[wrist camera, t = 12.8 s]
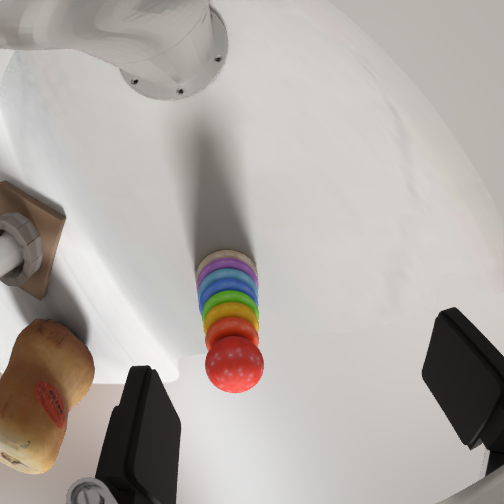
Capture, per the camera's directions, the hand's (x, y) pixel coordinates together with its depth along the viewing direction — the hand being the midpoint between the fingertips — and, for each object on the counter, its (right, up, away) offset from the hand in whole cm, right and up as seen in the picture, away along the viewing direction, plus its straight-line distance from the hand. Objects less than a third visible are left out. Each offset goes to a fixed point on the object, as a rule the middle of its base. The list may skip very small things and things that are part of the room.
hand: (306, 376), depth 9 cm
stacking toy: (-5, +1, +32) cm, 32 cm away
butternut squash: (-32, -10, +34) cm, 48 cm away
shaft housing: (-35, +6, +27) cm, 44 cm away
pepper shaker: (-35, +5, +25) cm, 43 cm away
